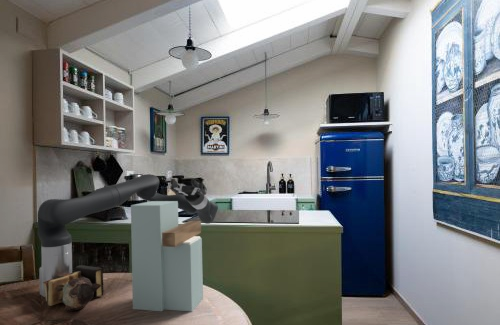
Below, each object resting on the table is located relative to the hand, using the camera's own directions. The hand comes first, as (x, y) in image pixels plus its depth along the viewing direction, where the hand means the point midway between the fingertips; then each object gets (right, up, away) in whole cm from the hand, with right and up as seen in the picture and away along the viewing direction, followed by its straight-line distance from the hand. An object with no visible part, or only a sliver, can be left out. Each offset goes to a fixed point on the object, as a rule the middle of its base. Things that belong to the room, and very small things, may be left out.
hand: (181, 180), depth 124 cm
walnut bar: (+6, -17, -25) cm, 31 cm away
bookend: (-28, -39, -23) cm, 53 cm away
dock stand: (+1, -38, -24) cm, 45 cm away
